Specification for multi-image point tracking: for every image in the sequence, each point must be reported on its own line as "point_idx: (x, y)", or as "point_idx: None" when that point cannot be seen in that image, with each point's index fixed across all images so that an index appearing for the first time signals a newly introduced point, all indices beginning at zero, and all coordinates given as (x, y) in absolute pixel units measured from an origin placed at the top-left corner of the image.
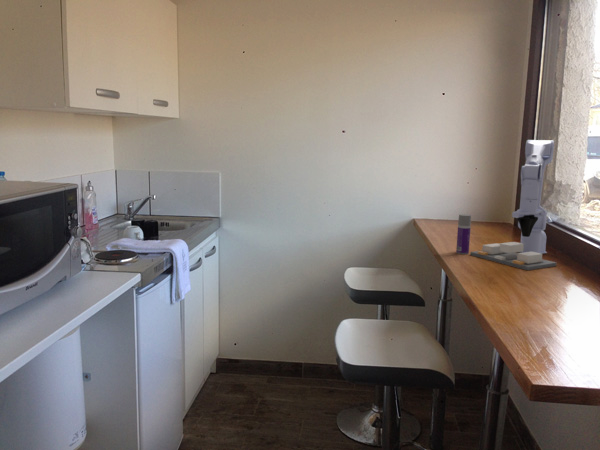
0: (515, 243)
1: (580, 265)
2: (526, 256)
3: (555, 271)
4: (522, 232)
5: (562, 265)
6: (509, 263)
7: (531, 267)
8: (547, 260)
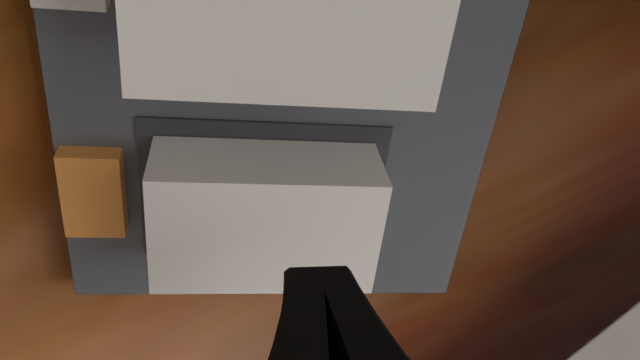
0: (355, 33)
1: (596, 323)
2: (148, 270)
3: (266, 353)
4: (282, 316)
5: (496, 280)
6: (51, 109)
7: (124, 287)
8: (463, 224)
